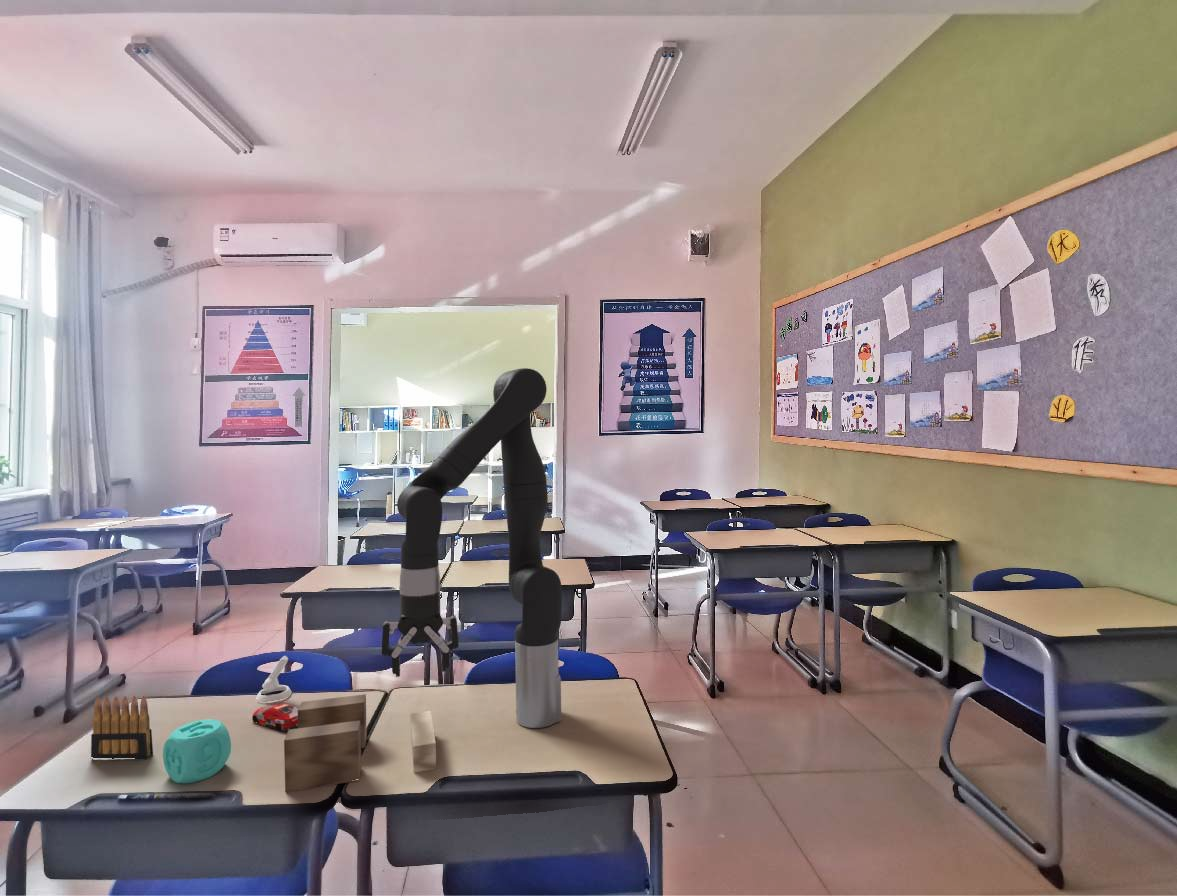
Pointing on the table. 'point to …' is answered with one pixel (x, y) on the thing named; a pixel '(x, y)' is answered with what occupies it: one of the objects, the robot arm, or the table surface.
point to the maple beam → (422, 741)
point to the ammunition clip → (121, 730)
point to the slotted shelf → (326, 743)
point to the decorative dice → (196, 751)
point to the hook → (274, 684)
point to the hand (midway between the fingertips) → (420, 672)
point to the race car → (277, 717)
